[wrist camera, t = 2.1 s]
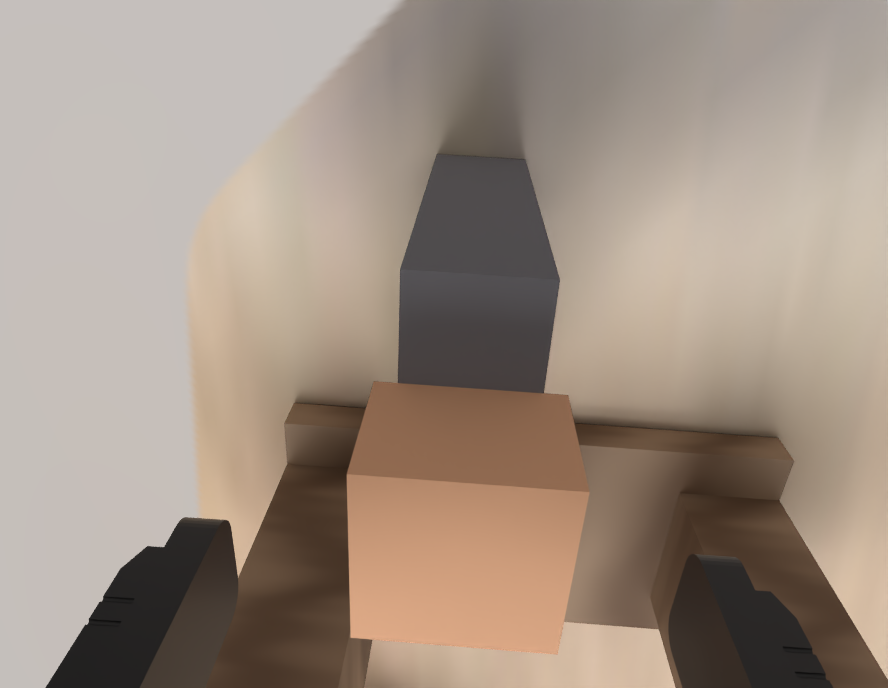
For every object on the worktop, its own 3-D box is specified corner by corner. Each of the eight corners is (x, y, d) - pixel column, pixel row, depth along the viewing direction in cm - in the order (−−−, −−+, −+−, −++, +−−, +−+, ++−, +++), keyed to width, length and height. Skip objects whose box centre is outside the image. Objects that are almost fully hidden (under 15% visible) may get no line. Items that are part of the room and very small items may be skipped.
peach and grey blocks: (539, 160, 22) (616, 358, 9) (513, 387, 26) (542, 733, 14) (422, 153, 22) (343, 339, 9) (414, 380, 26) (352, 717, 14)
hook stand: (778, 437, 26) (1079, 872, 13) (717, 607, 31) (895, 1057, 18) (294, 403, 27) (108, 788, 14) (305, 575, 31) (176, 989, 18)
